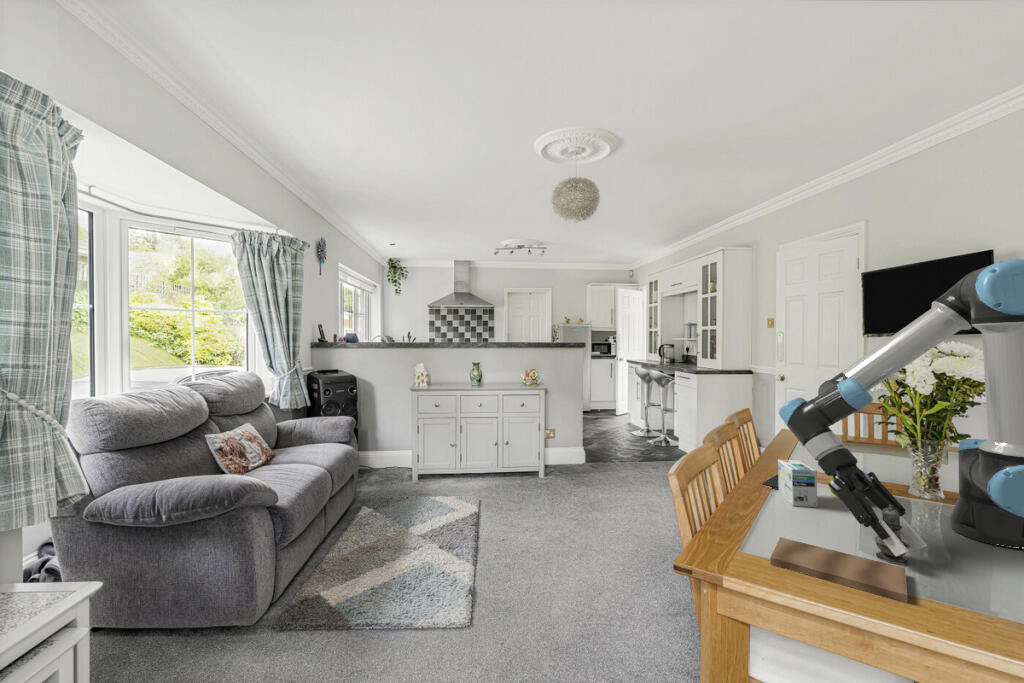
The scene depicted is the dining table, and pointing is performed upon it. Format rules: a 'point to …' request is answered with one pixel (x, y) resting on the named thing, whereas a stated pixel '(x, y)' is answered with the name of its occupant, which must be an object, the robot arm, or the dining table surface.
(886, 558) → the grey tall carved piece
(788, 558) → the walnut board
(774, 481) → the smart home device
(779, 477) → the light bulb box
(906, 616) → the dining table surface
